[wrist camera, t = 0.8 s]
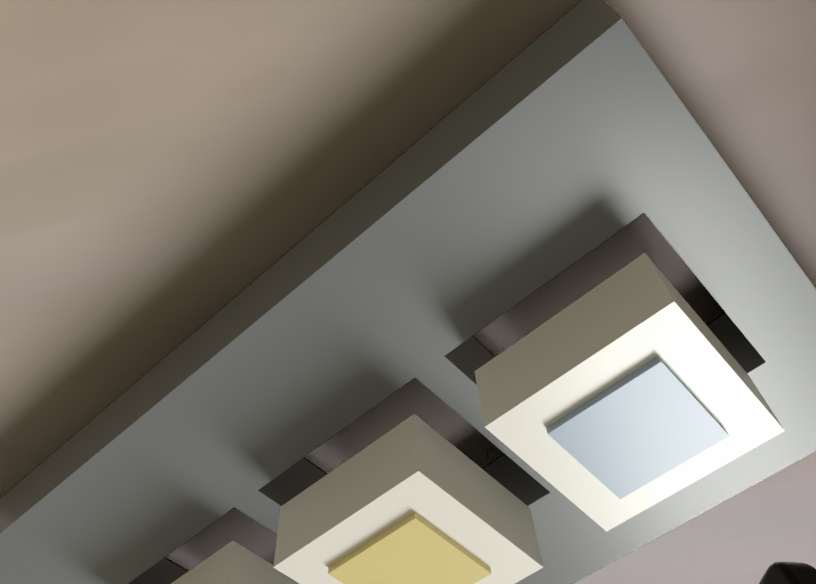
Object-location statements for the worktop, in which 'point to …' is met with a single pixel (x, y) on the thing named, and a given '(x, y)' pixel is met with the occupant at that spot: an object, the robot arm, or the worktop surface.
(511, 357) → the key
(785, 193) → the worktop surface
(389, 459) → the key
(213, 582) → the key
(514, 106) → the keypad board
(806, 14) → the worktop surface
